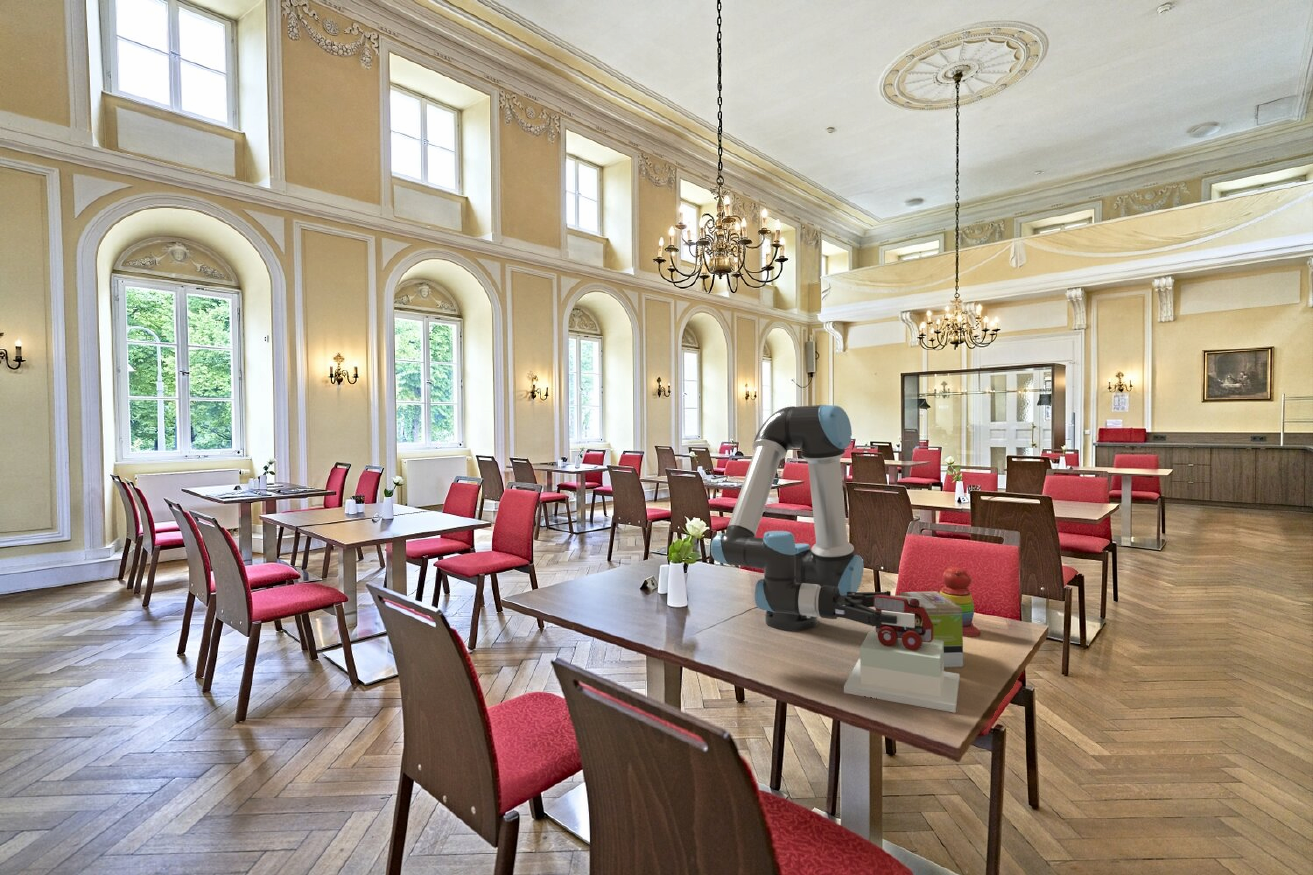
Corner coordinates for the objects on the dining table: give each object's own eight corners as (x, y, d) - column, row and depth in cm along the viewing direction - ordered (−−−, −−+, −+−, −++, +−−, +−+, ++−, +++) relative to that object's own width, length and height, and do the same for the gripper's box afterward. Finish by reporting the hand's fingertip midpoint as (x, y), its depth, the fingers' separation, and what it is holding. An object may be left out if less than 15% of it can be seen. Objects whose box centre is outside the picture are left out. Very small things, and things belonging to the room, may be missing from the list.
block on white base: (844, 692, 136) (843, 649, 136) (859, 664, 152) (858, 625, 152) (955, 712, 126) (955, 665, 125) (959, 680, 141) (958, 638, 141)
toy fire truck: (930, 653, 132) (929, 605, 132) (870, 643, 139) (869, 597, 139) (935, 644, 138) (935, 597, 138) (877, 634, 145) (877, 590, 145)
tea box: (899, 646, 164) (898, 590, 164) (938, 646, 164) (937, 590, 163) (922, 668, 149) (921, 606, 149) (964, 668, 149) (964, 606, 148)
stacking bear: (982, 637, 170) (981, 572, 169) (942, 635, 172) (942, 571, 171) (971, 624, 180) (970, 563, 180) (933, 623, 182) (932, 562, 182)
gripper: (832, 603, 158) (923, 613, 148) (807, 632, 136) (911, 647, 126) (832, 573, 158) (922, 582, 148) (806, 598, 136) (911, 610, 126)
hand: (917, 612), depth 137 cm, fingers open, 13 cm apart
